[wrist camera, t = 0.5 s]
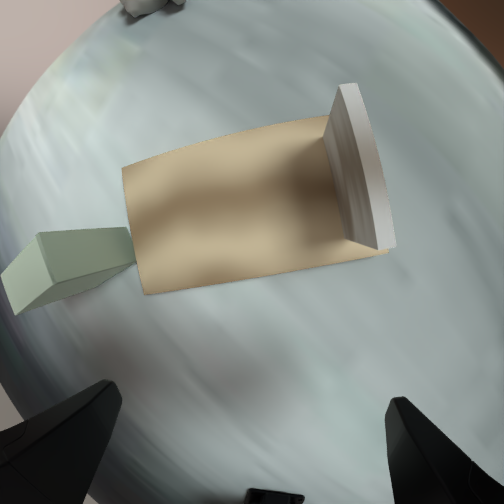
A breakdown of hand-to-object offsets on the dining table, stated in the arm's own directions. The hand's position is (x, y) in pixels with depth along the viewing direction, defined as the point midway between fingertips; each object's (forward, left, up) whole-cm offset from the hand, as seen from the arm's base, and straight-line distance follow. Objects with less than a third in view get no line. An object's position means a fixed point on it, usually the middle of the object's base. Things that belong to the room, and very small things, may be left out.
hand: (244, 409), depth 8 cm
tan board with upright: (+6, +3, -14) cm, 16 cm away
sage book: (0, +15, -14) cm, 20 cm away
